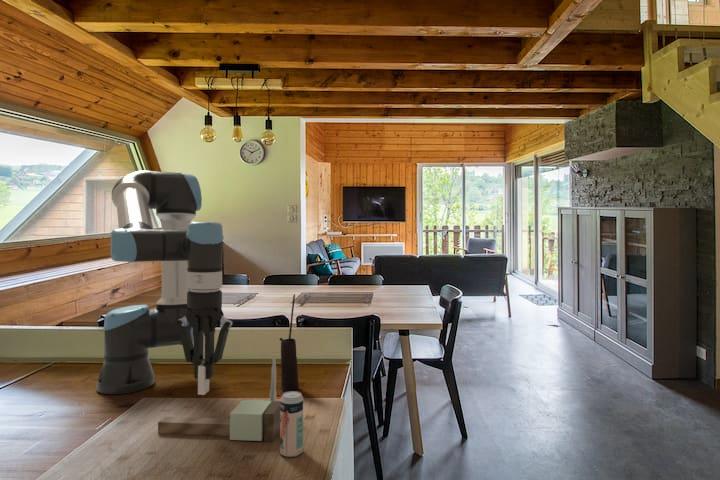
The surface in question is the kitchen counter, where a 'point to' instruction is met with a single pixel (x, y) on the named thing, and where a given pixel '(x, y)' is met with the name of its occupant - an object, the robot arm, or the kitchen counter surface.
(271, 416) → the rail
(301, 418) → the beer can
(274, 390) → the tow hook
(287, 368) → the butter churn
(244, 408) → the slider
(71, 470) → the kitchen counter surface
